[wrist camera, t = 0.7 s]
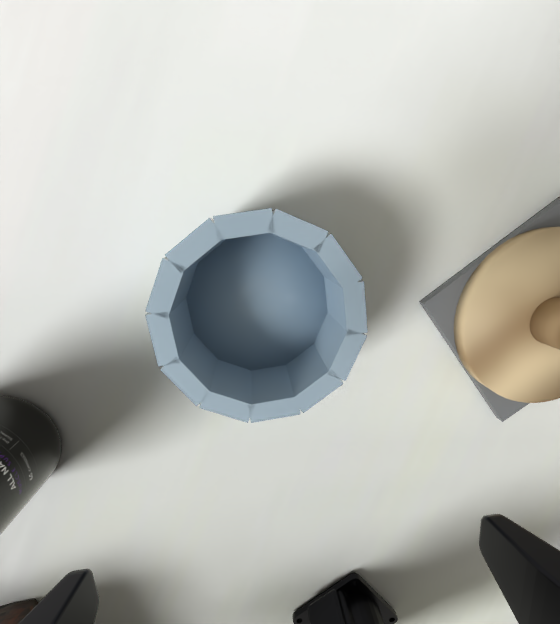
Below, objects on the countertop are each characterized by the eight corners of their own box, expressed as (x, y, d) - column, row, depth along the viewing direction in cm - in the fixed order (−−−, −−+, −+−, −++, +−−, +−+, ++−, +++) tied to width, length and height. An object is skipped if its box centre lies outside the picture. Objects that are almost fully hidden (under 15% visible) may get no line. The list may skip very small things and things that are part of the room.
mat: (629, 324, 22) (639, 326, 22) (496, 417, 23) (502, 421, 23) (566, 191, 20) (576, 189, 19) (419, 301, 21) (424, 303, 20)
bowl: (368, 312, 20) (404, 337, 16) (247, 405, 21) (245, 455, 16) (271, 179, 18) (279, 159, 13) (138, 289, 19) (100, 308, 14)
